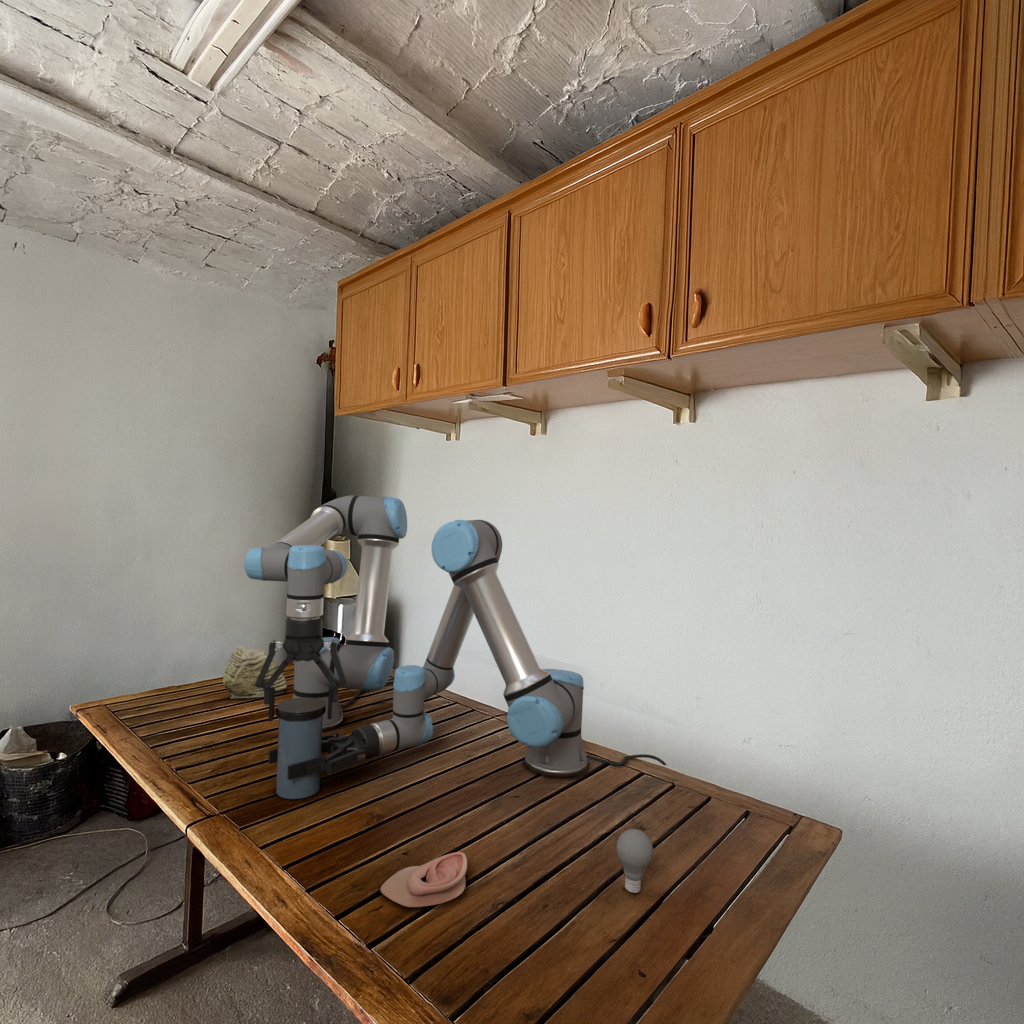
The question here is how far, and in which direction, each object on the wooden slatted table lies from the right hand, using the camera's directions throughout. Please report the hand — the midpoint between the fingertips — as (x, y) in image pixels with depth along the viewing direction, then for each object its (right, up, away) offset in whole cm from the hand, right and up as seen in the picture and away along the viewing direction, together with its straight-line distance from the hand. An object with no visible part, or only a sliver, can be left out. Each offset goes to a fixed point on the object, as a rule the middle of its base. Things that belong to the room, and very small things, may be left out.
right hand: (278, 764), depth 134 cm
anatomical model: (+35, -9, -29) cm, 46 cm away
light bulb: (+69, -10, -28) cm, 75 cm away
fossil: (-31, -4, +64) cm, 72 cm away
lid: (+4, +11, +3) cm, 12 cm away
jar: (+3, -7, +3) cm, 8 cm away
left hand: (+4, +9, +3) cm, 10 cm away
